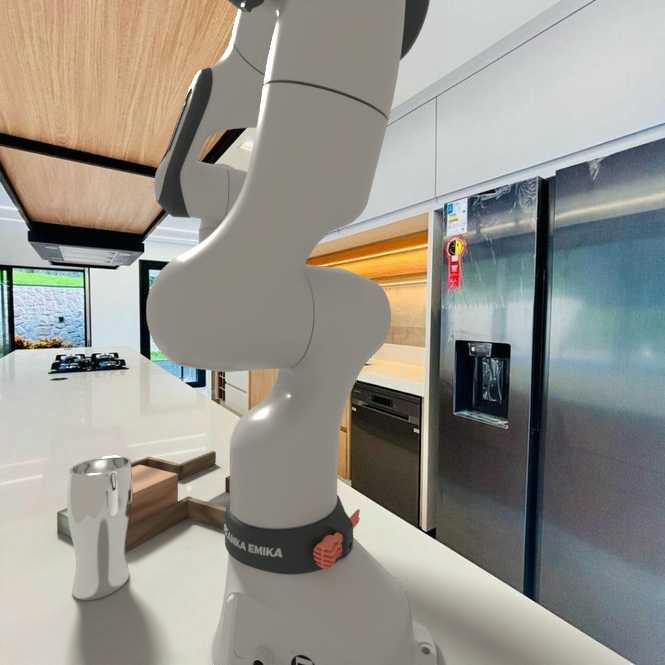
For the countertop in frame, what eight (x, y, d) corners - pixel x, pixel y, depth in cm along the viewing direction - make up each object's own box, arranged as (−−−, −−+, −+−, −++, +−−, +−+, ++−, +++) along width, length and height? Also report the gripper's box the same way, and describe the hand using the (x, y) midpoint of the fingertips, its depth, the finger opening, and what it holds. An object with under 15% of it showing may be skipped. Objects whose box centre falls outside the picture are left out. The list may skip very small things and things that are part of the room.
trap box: (301, 484, 76) (301, 469, 76) (164, 580, 47) (164, 556, 47) (183, 456, 92) (183, 444, 92) (25, 515, 63) (25, 498, 63)
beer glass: (130, 559, 51) (130, 452, 51) (135, 589, 45) (135, 468, 45) (69, 577, 47) (69, 461, 47) (65, 612, 42) (65, 480, 41)
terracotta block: (177, 514, 64) (177, 474, 64) (123, 543, 55) (123, 497, 55) (139, 502, 69) (139, 464, 69) (83, 528, 60) (83, 485, 60)
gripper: (174, 250, 79) (174, 314, 79) (249, 239, 69) (249, 313, 69) (197, 255, 84) (197, 315, 84) (269, 246, 75) (269, 314, 75)
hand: (221, 314), depth 77 cm, fingers open, 8 cm apart
